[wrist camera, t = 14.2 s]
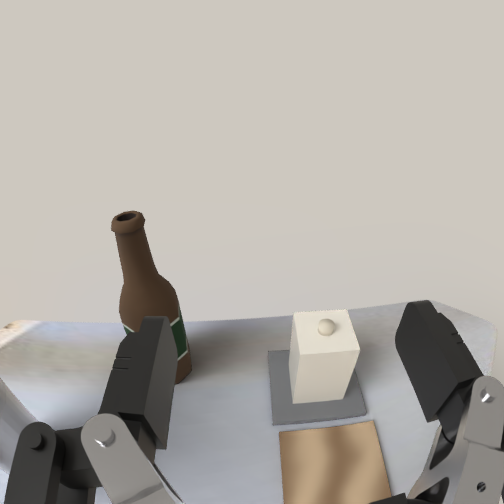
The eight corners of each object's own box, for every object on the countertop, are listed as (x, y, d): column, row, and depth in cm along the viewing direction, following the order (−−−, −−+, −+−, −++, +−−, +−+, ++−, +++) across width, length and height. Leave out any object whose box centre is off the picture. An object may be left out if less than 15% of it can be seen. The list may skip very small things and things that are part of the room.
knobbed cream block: (292, 403, 36) (300, 348, 30) (288, 364, 42) (293, 305, 36) (342, 399, 36) (362, 343, 30) (334, 361, 42) (348, 303, 36)
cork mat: (284, 522, 23) (285, 521, 23) (279, 433, 33) (279, 431, 33) (391, 503, 23) (392, 502, 23) (371, 422, 33) (373, 420, 33)
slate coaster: (272, 425, 35) (272, 422, 34) (268, 354, 45) (268, 351, 44) (364, 415, 35) (366, 412, 34) (346, 349, 45) (347, 345, 44)
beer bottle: (200, 352, 45) (174, 201, 33) (184, 393, 39) (140, 236, 26) (155, 343, 47) (116, 200, 34) (134, 380, 40) (76, 232, 28)
